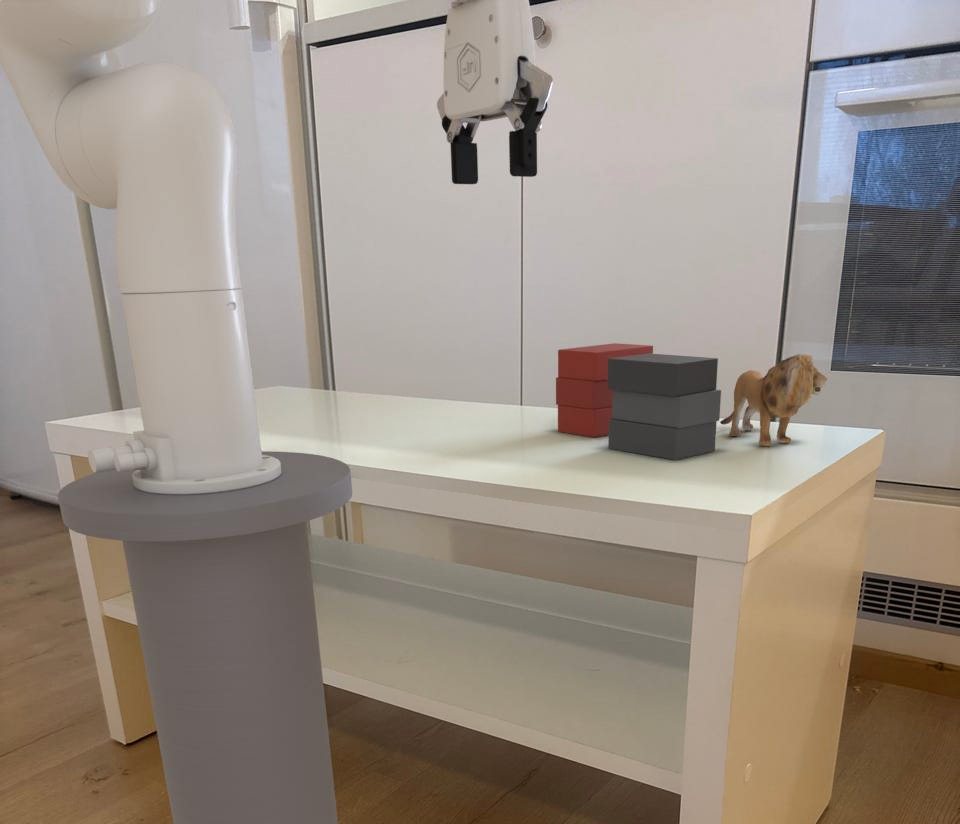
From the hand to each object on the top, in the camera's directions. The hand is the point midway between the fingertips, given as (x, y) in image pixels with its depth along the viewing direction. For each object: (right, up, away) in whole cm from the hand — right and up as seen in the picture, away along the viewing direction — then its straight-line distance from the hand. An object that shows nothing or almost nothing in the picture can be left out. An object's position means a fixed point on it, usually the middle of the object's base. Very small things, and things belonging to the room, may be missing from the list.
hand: (493, 180), depth 100 cm
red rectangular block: (+13, -19, +7) cm, 24 cm away
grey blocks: (+17, -29, -3) cm, 34 cm away
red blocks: (+13, -24, +9) cm, 29 cm away
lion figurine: (+29, -27, 0) cm, 40 cm away
